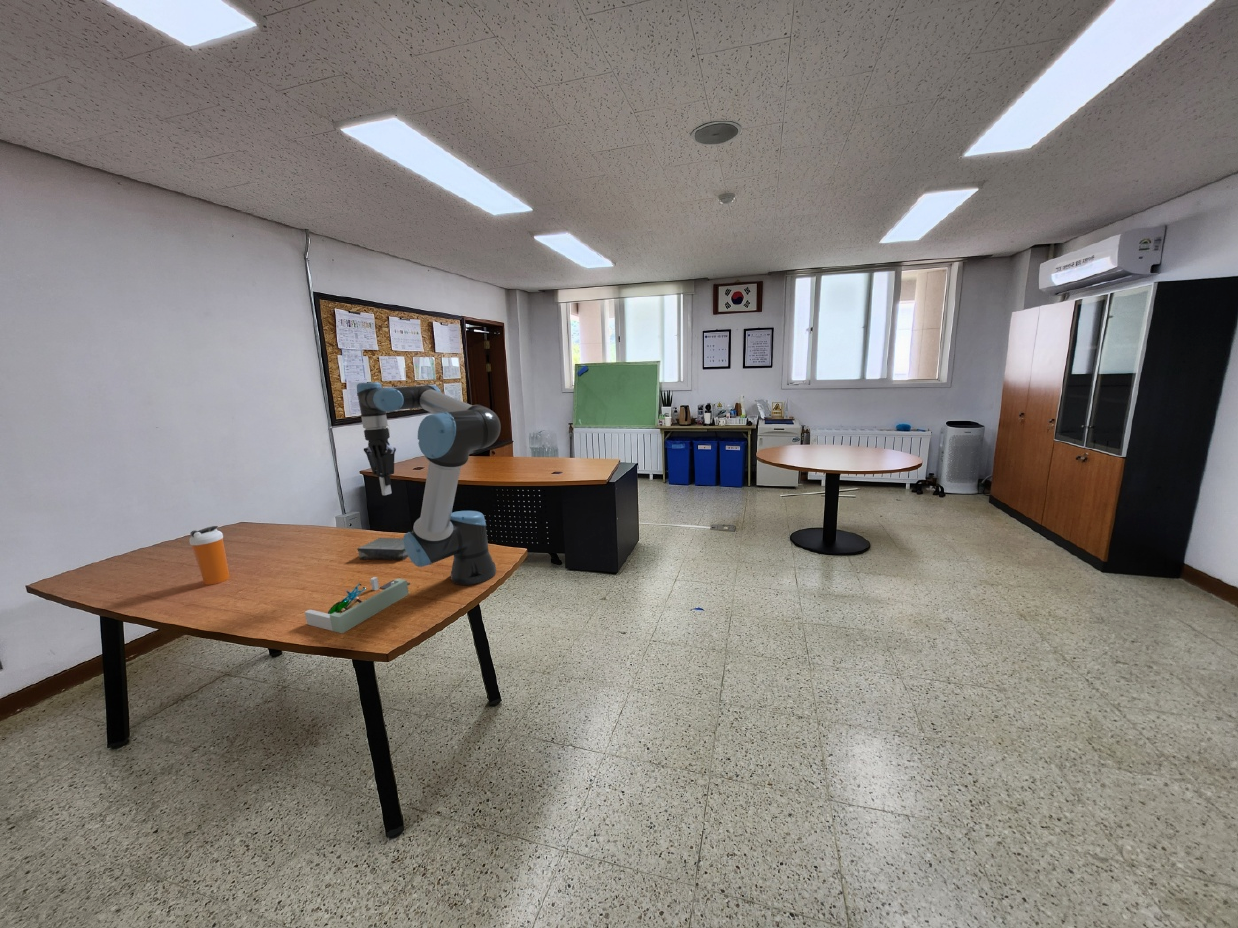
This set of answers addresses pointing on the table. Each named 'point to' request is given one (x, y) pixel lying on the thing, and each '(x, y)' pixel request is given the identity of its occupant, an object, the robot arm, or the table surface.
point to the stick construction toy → (346, 601)
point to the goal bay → (369, 607)
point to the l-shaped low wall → (324, 619)
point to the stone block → (383, 550)
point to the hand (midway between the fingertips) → (387, 494)
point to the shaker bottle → (210, 555)
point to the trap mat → (389, 585)
